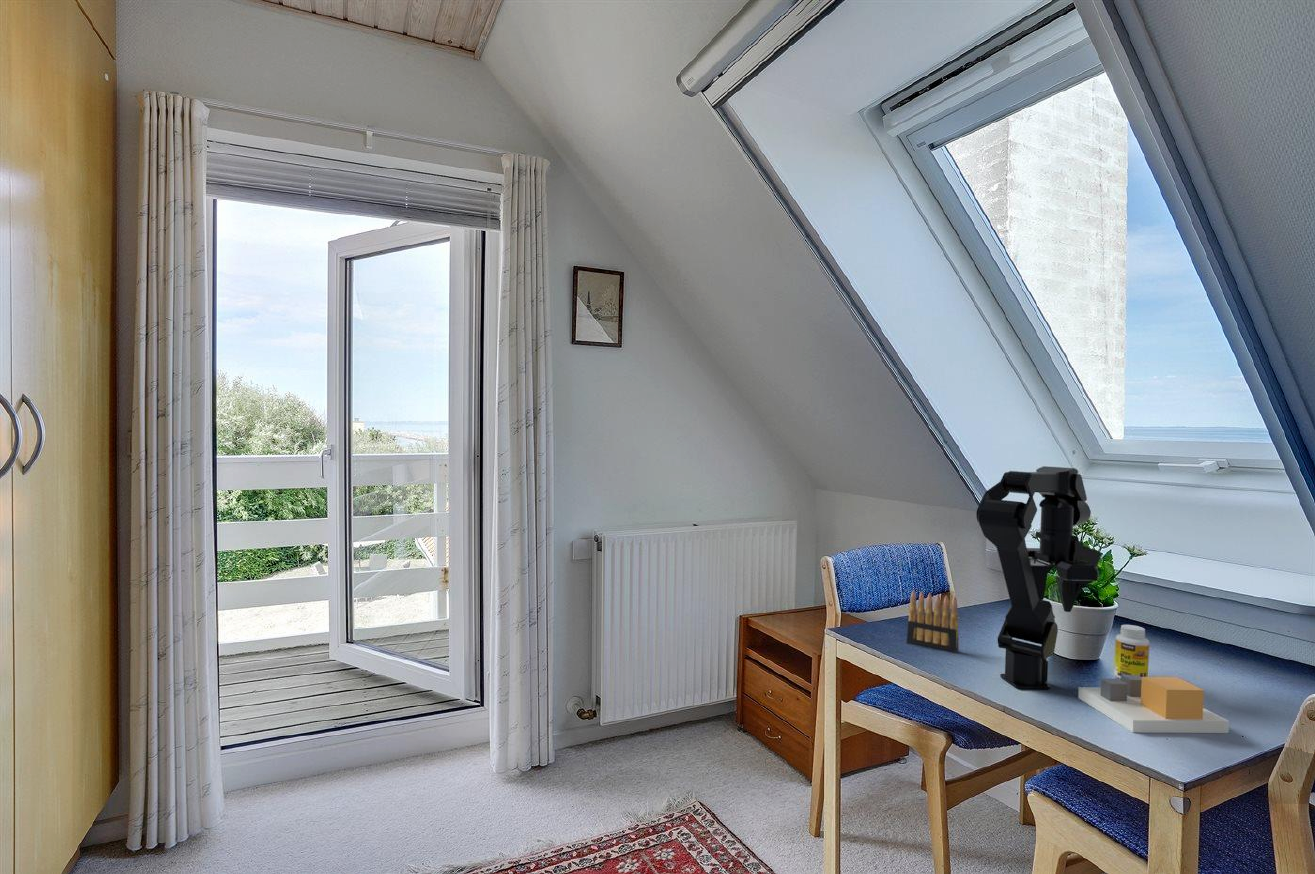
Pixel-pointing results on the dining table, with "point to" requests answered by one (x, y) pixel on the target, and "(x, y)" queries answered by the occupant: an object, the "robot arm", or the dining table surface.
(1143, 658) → the supplement bottle
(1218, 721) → the board
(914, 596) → the ammunition clip
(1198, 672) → the dining table surface
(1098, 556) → the robot arm
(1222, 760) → the dining table surface
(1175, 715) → the orange block
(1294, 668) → the dining table surface
